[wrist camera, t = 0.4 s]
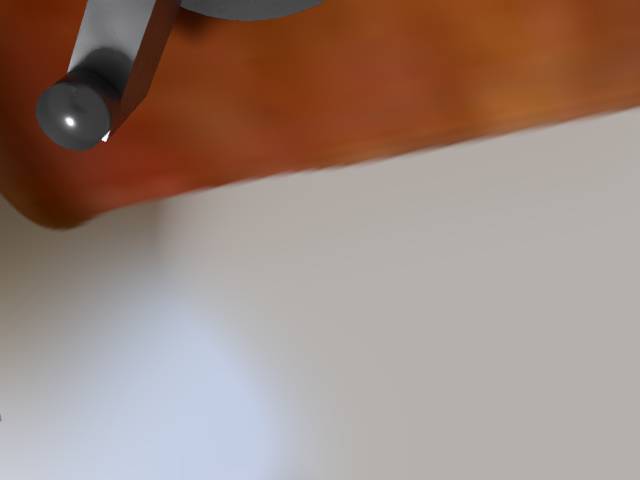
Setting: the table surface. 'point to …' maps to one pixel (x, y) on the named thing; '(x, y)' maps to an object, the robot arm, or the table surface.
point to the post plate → (248, 8)
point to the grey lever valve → (106, 70)
